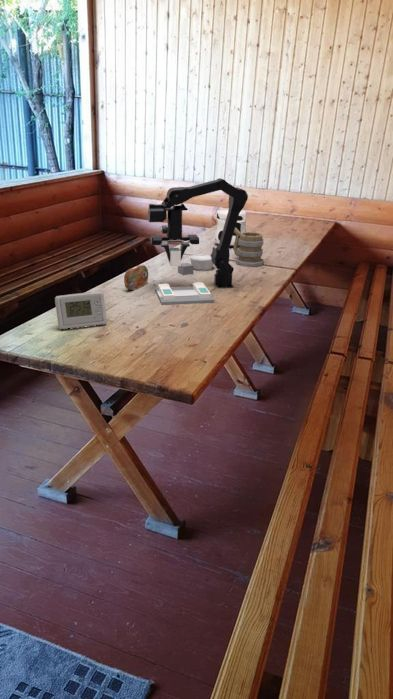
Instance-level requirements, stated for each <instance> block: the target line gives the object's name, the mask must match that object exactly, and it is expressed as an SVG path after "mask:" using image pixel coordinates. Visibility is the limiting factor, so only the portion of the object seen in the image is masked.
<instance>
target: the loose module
mask: <svg viewBox="0 0 393 699" xmlns="http://www.w3.org/2000/svg"><path fill="white" fill-rule="evenodd" d="M169 252H170V262H169V261H168V264H169V266H170V267H178V266H181V264H182V259H181V251H180V248H179V247H169Z"/></svg>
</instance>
